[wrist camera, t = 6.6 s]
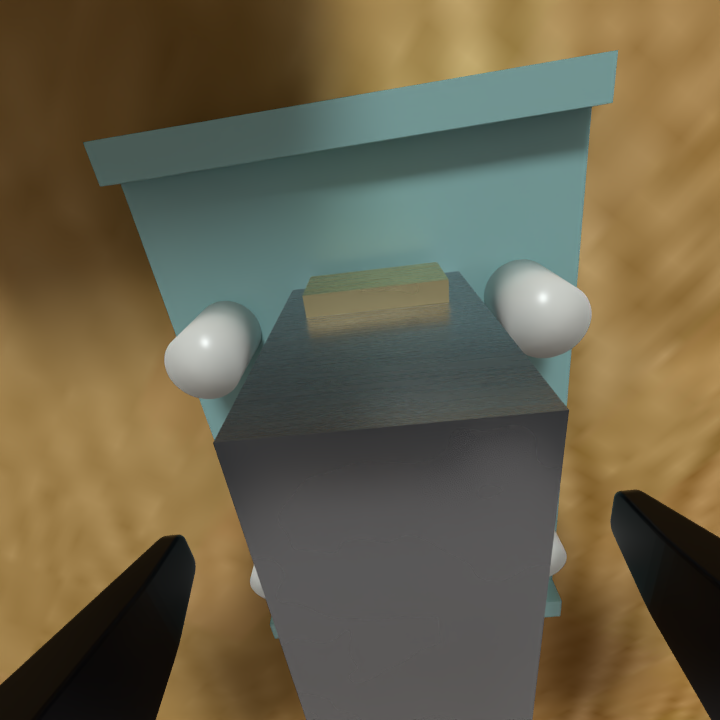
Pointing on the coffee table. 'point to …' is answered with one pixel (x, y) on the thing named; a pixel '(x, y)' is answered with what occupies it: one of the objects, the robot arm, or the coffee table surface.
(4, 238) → the coffee table surface
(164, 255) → the tray
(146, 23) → the coffee table surface
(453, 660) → the block
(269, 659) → the coffee table surface
